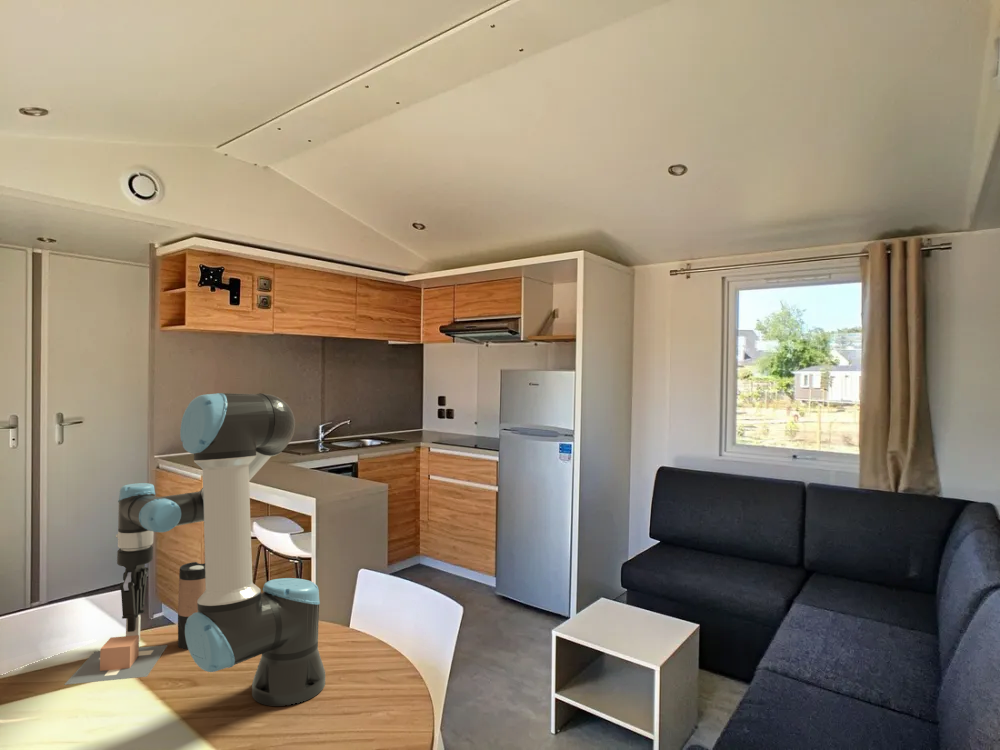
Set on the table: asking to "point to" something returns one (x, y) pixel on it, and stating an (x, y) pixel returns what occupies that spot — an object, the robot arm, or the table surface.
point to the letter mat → (138, 669)
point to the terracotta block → (119, 652)
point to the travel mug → (189, 595)
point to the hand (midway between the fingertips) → (132, 642)
